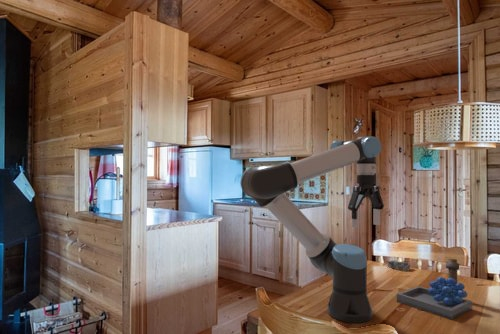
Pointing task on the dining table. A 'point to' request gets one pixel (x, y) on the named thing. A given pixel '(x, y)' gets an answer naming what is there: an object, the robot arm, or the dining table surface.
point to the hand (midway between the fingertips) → (366, 226)
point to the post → (452, 268)
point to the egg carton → (399, 265)
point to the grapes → (447, 290)
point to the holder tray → (432, 303)
